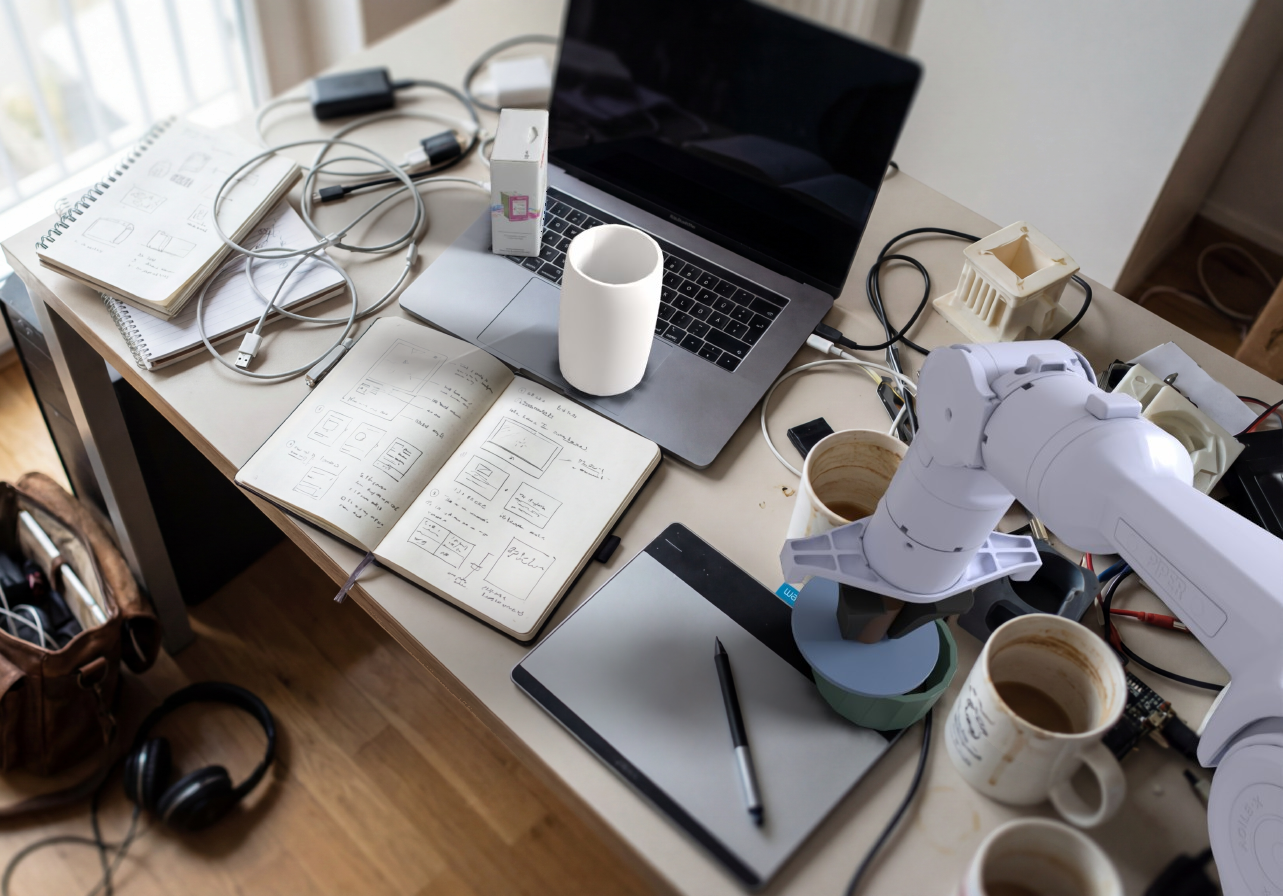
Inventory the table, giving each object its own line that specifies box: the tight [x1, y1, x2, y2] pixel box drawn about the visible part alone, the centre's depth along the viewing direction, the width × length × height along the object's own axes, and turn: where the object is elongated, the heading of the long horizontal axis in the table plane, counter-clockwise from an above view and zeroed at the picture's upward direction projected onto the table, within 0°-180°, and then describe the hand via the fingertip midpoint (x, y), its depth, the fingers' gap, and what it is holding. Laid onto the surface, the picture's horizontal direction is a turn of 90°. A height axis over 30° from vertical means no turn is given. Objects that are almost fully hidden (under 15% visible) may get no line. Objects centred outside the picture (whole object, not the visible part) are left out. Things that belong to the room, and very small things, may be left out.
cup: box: [558, 223, 664, 397], centre depth 88 cm, size 8×8×14 cm
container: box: [811, 618, 958, 732], centre depth 72 cm, size 9×9×5 cm
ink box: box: [489, 108, 550, 258], centre depth 101 cm, size 9×5×12 cm, turn 172°
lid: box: [790, 576, 939, 698], centre depth 65 cm, size 9×9×6 cm
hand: (867, 625), depth 67 cm, fingers closed on lid, 2 cm apart
